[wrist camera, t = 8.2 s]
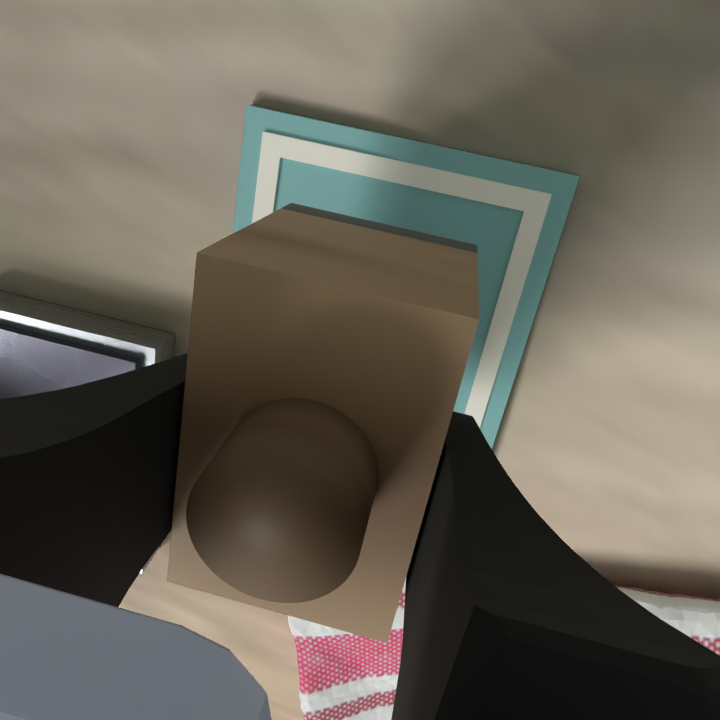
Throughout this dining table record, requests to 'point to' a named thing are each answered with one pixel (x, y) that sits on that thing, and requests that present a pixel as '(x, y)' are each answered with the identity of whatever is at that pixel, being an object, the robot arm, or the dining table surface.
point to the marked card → (423, 220)
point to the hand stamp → (317, 412)
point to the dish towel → (382, 660)
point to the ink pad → (69, 347)
